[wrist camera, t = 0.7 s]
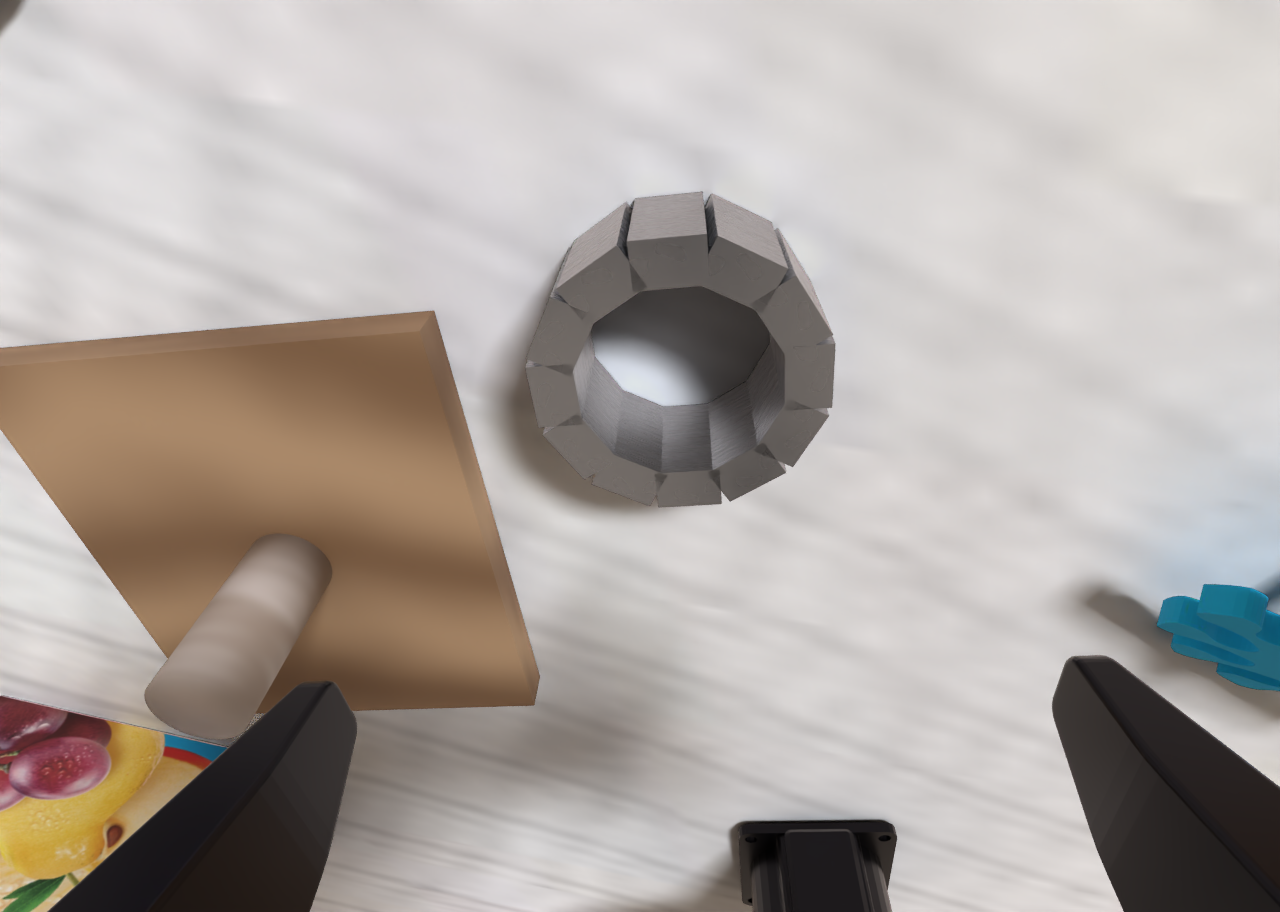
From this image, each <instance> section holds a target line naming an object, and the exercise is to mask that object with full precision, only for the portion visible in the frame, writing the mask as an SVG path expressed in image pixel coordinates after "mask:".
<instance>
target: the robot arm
mask: <svg viewBox="0 0 1280 912" xmlns="http://www.w3.org/2000/svg"><path fill="white" fill-rule="evenodd" d="M1052 712H1053V717H1054V721H1055V724H1056V727H1057V730H1058V733H1059V736H1060V739H1061V742H1062V746H1063V749H1064V752H1065V755H1066V758H1067V761H1068V764H1069V767H1070V770H1071V773H1072V776H1073V779H1074V782H1075V785H1076V788H1077V792H1078V795H1079V798H1080V801H1081V804H1082V807H1083V810H1084V813H1085V816H1086V819H1087V822H1088V825H1089V828H1090V831H1091V834H1092V837H1093V840H1094V842H1095V845H1096V848H1097V851H1098V853H1099V856H1100V858H1101V860H1102V863H1103V865H1104V868H1105V870H1106V872H1107V875H1108V877H1109V879H1110V881H1111V884H1112V886H1113V888H1114V890H1115V893H1116V895H1117V897H1118V899H1119V902H1120V904H1121V906H1122V908H1123V911H1124V912H1280V787H1279V786H1278V785H1276V784H1275V783H1274V782H1273V781H1271V780H1270V779H1269V778H1267V777H1266V776H1265V775H1263V774H1262V773H1261V772H1260V771H1258V770H1257V769H1256V768H1254V767H1253V766H1252V765H1250V764H1249V763H1248V762H1247V761H1245V760H1244V759H1243V758H1241V757H1240V756H1239V755H1237V754H1236V753H1235V752H1234V751H1232V750H1231V749H1230V748H1228V747H1227V746H1226V745H1224V744H1223V743H1222V742H1221V741H1219V740H1218V739H1217V738H1215V737H1214V736H1213V735H1211V734H1210V733H1209V732H1208V731H1206V730H1205V729H1204V728H1202V727H1201V726H1200V725H1198V724H1197V723H1196V722H1195V721H1193V720H1192V719H1191V718H1189V717H1188V716H1187V715H1185V714H1184V713H1183V712H1182V711H1180V710H1179V709H1178V708H1176V707H1175V706H1174V705H1172V704H1171V703H1170V702H1169V701H1167V700H1166V699H1165V698H1163V697H1162V696H1161V695H1159V694H1158V693H1157V692H1156V691H1154V690H1153V689H1152V688H1150V687H1149V686H1148V685H1146V684H1145V683H1144V682H1143V681H1141V680H1140V679H1139V678H1137V677H1136V676H1135V675H1133V674H1132V673H1131V672H1130V671H1128V670H1127V669H1126V668H1124V667H1123V666H1122V665H1120V664H1119V663H1118V662H1116V661H1115V660H1113V659H1111V658H1109V657H1107V656H1102V655H1091V656H1073V657H1071V658H1069V659H1068V660H1067V661H1066V663H1065V665H1064V668H1063V671H1062V673H1061V676H1060V679H1059V682H1058V685H1057V688H1056V691H1055V694H1054V697H1053V701H1052ZM356 734H357V724H356V719H355V716H354V714H353V712H352V711H351V709H350V707H349V705H348V703H347V701H346V699H345V698H344V696H343V694H342V692H341V690H340V688H339V687H338V685H337V684H336V683H334V682H333V681H329V680H326V681H306V682H303V683H300V684H299V685H297V686H296V687H294V688H293V689H292V690H291V691H290V692H289V693H288V694H287V695H286V696H284V697H283V698H282V699H281V700H280V701H279V702H278V703H277V704H276V705H275V706H273V707H272V708H271V709H270V710H269V711H268V712H267V713H266V714H265V715H263V716H262V717H261V718H260V719H259V720H258V721H257V722H256V723H255V724H254V725H252V726H251V727H250V728H249V729H248V730H247V731H246V732H245V733H244V734H242V735H241V736H240V737H239V738H238V739H237V740H236V741H235V742H234V743H233V744H231V745H230V746H229V747H228V748H227V749H226V750H225V751H224V752H223V753H222V754H220V755H219V756H218V757H217V758H216V759H215V760H214V761H213V762H212V763H210V764H209V765H208V766H207V767H206V768H205V769H204V770H203V771H202V772H201V773H199V774H198V775H197V776H196V777H195V778H194V779H193V780H192V781H191V782H190V783H188V784H187V785H186V786H185V787H184V788H183V789H182V790H181V791H180V792H178V793H177V794H176V795H175V796H174V797H173V798H172V799H171V800H170V801H169V802H167V803H166V804H165V805H164V806H163V807H162V808H161V809H160V810H159V811H157V812H156V813H155V814H154V815H153V816H152V817H151V818H150V819H149V820H148V821H146V822H145V823H144V824H143V825H142V826H141V827H140V828H139V829H138V830H137V831H135V832H134V833H133V834H132V835H131V836H130V837H129V838H128V839H127V840H125V841H124V842H123V843H122V844H121V845H120V846H119V847H118V848H117V849H116V850H114V851H113V852H112V853H111V854H110V855H109V856H108V857H107V858H106V859H105V860H103V861H102V862H101V863H100V864H99V865H98V866H97V867H96V868H95V869H93V870H92V871H91V872H90V873H89V874H88V875H87V876H86V877H85V878H84V879H82V880H81V881H80V882H79V883H78V884H77V885H76V886H75V887H74V888H73V889H71V890H70V891H69V892H68V893H67V894H66V895H65V896H64V897H63V898H61V899H60V900H59V901H58V902H57V903H56V904H55V905H54V906H53V907H52V908H50V909H49V910H48V911H47V912H310V909H311V906H312V903H313V900H314V897H315V894H316V892H317V889H318V886H319V883H320V880H321V877H322V874H323V870H324V867H325V864H326V861H327V858H328V854H329V850H330V847H331V843H332V839H333V835H334V831H335V826H336V822H337V818H338V813H339V809H340V805H341V800H342V796H343V792H344V788H345V783H346V779H347V775H348V770H349V766H350V762H351V757H352V753H353V749H354V744H355V740H356ZM738 832H739V850H740V867H741V885H742V901H743V903H745V904H747V905H752V906H753V912H892V909H891V905H890V900H889V896H888V892H887V890H888V885H889V879H890V874H891V868H892V863H893V858H894V852H895V847H896V842H897V835H896V831H895V827H894V826H893V825H892V824H890V823H885V822H870V823H787V824H745V825H743V826H741V827H740V828H739V830H738Z"/></svg>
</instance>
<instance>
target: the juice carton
mask: <svg viewBox="0 0 1280 912" xmlns="http://www.w3.org/2000/svg"><path fill="white" fill-rule="evenodd" d="M227 748H228V747H226V746H222V745H217V744H213V743H209V742H204V741H200V740H195V739H191V738H187V737H182V736H178V735H173V734H169V733H165V732H160V731H156V730H152V729H147V728H143V727H138V726H134V725H130V724H125V723H121V722H117V721H112V720H108V719H103V718H99V717H95V716H90V715H86V714H82V713H77V712H73V711H68V710H64V709H60V708H55V707H51V706H47V705H42V704H38V703H33V702H29V701H25V700H20V699H16V698H12V697H7V696H0V912H47V911H48V910H49V909H50V908H52V907H53V906H54V905H55V904H56V903H57V902H58V901H59V900H60V899H61V898H63V897H64V896H65V895H66V894H67V893H68V892H69V891H70V890H71V889H73V888H74V887H75V886H76V885H77V884H78V883H79V882H80V881H81V880H82V879H84V878H85V877H86V876H87V875H88V874H89V873H90V872H91V871H92V870H93V869H95V868H96V867H97V866H98V865H99V864H100V863H101V862H102V861H103V860H105V859H106V858H107V857H108V856H109V855H110V854H111V853H112V852H113V851H114V850H116V849H117V848H118V847H119V846H120V845H121V844H122V843H123V842H124V841H125V840H127V839H128V838H129V837H130V836H131V835H132V834H133V833H134V832H135V831H137V830H138V829H139V828H140V827H141V826H142V825H143V824H144V823H145V822H146V821H148V820H149V819H150V818H151V817H152V816H153V815H154V814H155V813H156V812H157V811H159V810H160V809H161V808H162V807H163V806H164V805H165V804H166V803H167V802H169V801H170V800H171V799H172V798H173V797H174V796H175V795H176V794H177V793H178V792H180V791H181V790H182V789H183V788H184V787H185V786H186V785H187V784H188V783H190V782H191V781H192V780H193V779H194V778H195V777H196V776H197V775H198V774H199V773H201V772H202V771H203V770H204V769H205V768H206V767H207V766H208V765H209V764H210V763H212V762H213V761H214V760H215V759H216V758H217V757H218V756H219V755H220V754H222V753H223V752H224V751H225V750H226V749H227Z"/></svg>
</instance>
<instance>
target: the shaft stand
mask: <svg viewBox="0 0 1280 912" xmlns="http://www.w3.org/2000/svg"><path fill="white" fill-rule="evenodd" d="M0 429H1V431H2V432H3V433H4V435H5V436H6V437H7V439H8V440H9V442H10V443H11V444H12V446H13V447H14V448H15V450H16V451H17V453H18V454H19V455H20V457H21V458H22V459H23V461H24V462H25V463H26V465H27V466H28V468H29V469H30V470H31V472H32V473H33V474H34V476H35V477H36V479H37V480H38V481H39V483H40V484H41V485H42V487H43V488H44V490H45V491H46V492H47V494H48V495H49V496H50V498H51V499H52V501H53V502H54V503H55V505H56V506H57V507H58V509H59V510H60V511H61V513H62V514H63V516H64V517H65V518H66V520H67V521H68V522H69V524H70V525H71V527H72V528H73V529H74V531H75V532H76V533H77V535H78V536H79V538H80V539H81V540H82V542H83V543H84V544H85V546H86V547H87V549H88V550H89V551H90V553H91V554H92V555H93V557H94V558H95V559H96V561H97V562H98V564H99V565H100V566H101V568H102V569H103V570H104V572H105V573H106V575H107V576H108V577H109V579H110V580H111V581H112V583H113V584H114V586H115V587H116V588H117V590H118V591H119V592H120V594H121V595H122V596H123V598H124V599H125V601H126V602H127V603H128V605H129V606H130V607H131V609H132V610H133V612H134V613H135V614H136V616H137V617H138V618H139V620H140V621H141V623H142V624H143V625H144V627H145V628H146V629H147V631H148V632H149V634H150V635H151V636H152V638H153V639H154V640H155V642H156V643H157V644H158V646H159V647H160V649H161V650H162V651H163V653H164V654H165V655H166V657H167V658H168V660H167V661H166V662H165V664H164V665H163V666H162V668H161V669H160V670H159V672H158V673H157V675H156V676H155V677H154V679H153V680H152V681H151V683H150V684H149V685H148V687H147V688H146V690H145V701H146V704H147V706H148V707H149V709H150V710H151V712H152V713H153V714H154V715H155V716H156V717H157V718H159V719H160V720H161V721H163V722H164V723H166V724H167V725H169V726H170V727H172V728H174V729H176V730H179V731H181V732H183V733H186V734H189V735H192V736H196V737H200V738H206V739H227V738H232V737H235V736H238V735H240V734H241V733H243V732H244V731H245V730H246V728H247V727H248V725H249V723H250V721H251V720H252V718H253V716H254V714H256V713H267V712H268V711H269V710H270V709H271V708H272V707H273V706H275V705H276V704H277V703H278V702H279V701H280V700H281V699H282V698H283V697H284V696H286V695H287V694H288V693H289V692H290V691H291V690H292V689H293V688H294V687H296V686H297V685H299V684H300V683H303V682H306V681H326V680H329V681H333V682H334V683H336V684H337V685H338V687H339V688H340V690H341V692H342V694H343V696H344V698H345V699H346V701H347V703H348V705H349V707H350V709H351V711H359V710H394V709H428V708H462V707H497V706H531V705H534V704H535V699H536V694H537V689H538V684H539V679H540V675H539V672H538V668H537V665H536V662H535V658H534V655H533V651H532V648H531V644H530V641H529V637H528V634H527V630H526V627H525V624H524V620H523V617H522V613H521V610H520V606H519V603H518V599H517V596H516V592H515V589H514V585H513V582H512V579H511V575H510V572H509V568H508V565H507V561H506V558H505V554H504V551H503V547H502V544H501V540H500V537H499V534H498V530H497V527H496V523H495V520H494V516H493V513H492V509H491V506H490V502H489V499H488V496H487V492H486V489H485V485H484V482H483V478H482V475H481V471H480V468H479V464H478V461H477V457H476V454H475V451H474V447H473V444H472V440H471V437H470V433H469V430H468V426H467V423H466V419H465V416H464V413H463V409H462V406H461V402H460V399H459V395H458V392H457V388H456V385H455V381H454V378H453V374H452V371H451V368H450V364H449V361H448V357H447V354H446V350H445V347H444V343H443V340H442V336H441V333H440V329H439V326H438V323H437V319H436V316H435V312H434V311H425V312H413V313H402V314H390V315H379V316H367V317H355V318H344V319H332V320H321V321H309V322H297V323H286V324H274V325H263V326H251V327H239V328H228V329H216V330H205V331H193V332H181V333H170V334H158V335H147V336H135V337H124V338H112V339H100V340H89V341H77V342H66V343H54V344H42V345H31V346H19V347H8V348H0Z"/></svg>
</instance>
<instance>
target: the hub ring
mask: <svg viewBox="0 0 1280 912" xmlns="http://www.w3.org/2000/svg"><path fill="white" fill-rule="evenodd" d="M696 286H702V287H705V288H707V289H709V290H711V291H713V292H716V293H718V294H720V295H722V296H725V297H727V298H729V299H731V300H734V301H736V302H738V303H740V304H742V305H745V306H747V307H749V308H751V309H754V310H755V311H756V312H757V314H758V315H759V317H760V318H761V320H762V321H763V323H764V324H765V326H766V327H767V329H768V330H769V332H770V344H769V345H768V347H767V349H766V350H765V352H764V353H763V355H762V357H761V358H760V360H759V362H758V363H757V365H756V367H755V368H754V370H753V372H752V373H751V375H750V377H749V378H748V380H747V381H746V382H744V383H743V384H741V385H739V386H738V387H736V388H734V389H732V390H731V391H729V392H727V393H726V394H724V395H722V396H720V397H719V398H717V399H715V400H714V401H712V402H710V403H708V404H696V405H681V406H667V407H663V406H661V405H658V404H656V403H653V402H651V401H648V400H646V399H643V398H641V397H639V396H636V395H634V394H631V393H629V392H626V391H624V390H622V389H621V387H620V386H619V385H618V384H617V383H616V381H615V380H614V379H613V378H612V377H611V375H610V374H609V373H608V372H607V371H606V369H605V368H604V367H603V366H602V365H601V363H600V362H599V361H598V360H597V359H596V357H595V354H594V347H593V341H592V335H591V329H592V326H593V324H594V323H595V322H597V321H598V320H600V319H601V318H603V317H604V316H605V315H607V314H608V313H610V312H611V311H613V310H614V309H616V308H617V307H619V306H620V305H622V304H623V303H625V302H626V301H627V300H629V299H630V298H632V297H633V296H635V295H636V294H638V293H639V292H641V291H650V290H662V289H673V288H685V287H696ZM832 335H833V333H832V331H831V329H830V326H829V324H828V321H827V319H826V317H825V314H824V312H823V310H822V307H821V305H820V302H819V300H818V298H817V295H816V293H815V291H814V288H813V286H812V283H811V281H810V279H809V278H808V276H807V274H806V273H805V271H804V269H803V268H802V266H801V265H800V263H799V261H798V260H797V258H796V256H795V255H794V253H793V252H792V250H791V248H790V247H789V245H788V243H787V242H786V240H785V238H784V237H783V235H782V234H781V232H780V230H779V229H778V228H777V229H776V230H774V228H773V225H772V222H770V221H768V220H766V219H764V218H762V217H760V216H758V215H756V214H754V213H752V212H750V211H747V210H745V209H743V208H741V207H739V206H737V205H735V204H733V203H731V202H729V201H727V200H724V199H722V198H720V197H718V196H716V195H714V194H711V196H710V198H709V200H708V202H707V204H706V206H705V208H704V201H703V192H695V193H685V194H675V195H665V196H655V197H645V198H635V201H634V206H633V211H632V209H631V208H630V206H629V205H628V204H627V202H625V203H624V204H623V205H621V206H620V207H619V208H617V209H616V210H615V211H613V212H612V213H611V214H609V215H608V216H607V217H605V218H604V219H603V220H601V221H600V222H599V223H597V224H596V225H595V226H593V227H592V228H591V229H589V230H588V231H587V232H585V233H584V234H583V235H581V236H580V237H579V238H577V239H576V240H574V243H573V245H572V248H569V249H568V252H567V254H566V257H565V259H564V262H563V264H562V267H561V270H560V272H559V275H558V277H557V280H556V282H555V285H554V287H553V290H552V292H551V295H550V298H549V300H548V303H547V305H546V308H545V310H544V313H543V316H542V318H541V321H540V323H539V326H538V328H537V331H536V334H535V336H534V339H533V341H532V344H531V346H530V349H529V352H528V354H527V357H526V359H527V360H528V361H527V364H526V366H525V369H526V374H527V378H528V383H529V387H530V392H531V396H532V401H533V405H534V410H535V414H536V419H537V423H538V428H541V427H545V428H544V432H543V436H544V437H545V438H546V439H547V440H548V441H549V442H550V444H551V445H552V446H553V447H554V448H555V449H556V450H557V451H558V452H559V453H560V454H561V455H562V456H563V457H564V458H565V460H566V461H567V462H568V463H569V464H570V465H571V466H572V467H573V468H574V469H575V470H576V471H577V472H578V473H579V474H580V476H581V477H582V478H583V479H584V480H585V479H586V478H588V477H590V476H591V475H593V478H592V485H595V486H597V487H600V488H603V489H605V490H608V491H611V492H613V493H616V494H619V495H621V496H624V497H627V498H629V499H632V500H635V501H637V502H640V503H643V504H645V505H648V506H650V505H651V503H652V502H653V500H654V498H655V497H656V495H657V500H658V507H676V506H694V505H712V504H722V501H721V491H722V492H723V494H724V495H725V496H726V497H727V498H728V500H729V501H732V500H734V499H736V498H738V497H740V496H742V495H744V494H746V493H748V492H750V491H752V490H754V489H756V488H757V487H759V486H761V485H763V484H765V483H767V482H769V481H771V480H773V479H775V478H777V477H779V476H781V475H783V474H785V473H786V469H785V464H787V465H789V466H792V467H793V466H794V465H795V463H796V462H797V460H798V459H799V458H800V456H801V455H802V453H803V452H804V451H805V449H806V448H807V446H808V445H809V443H810V442H811V441H812V439H813V438H814V436H815V435H816V434H817V432H818V431H819V429H820V428H821V426H822V425H823V424H824V422H825V421H826V419H827V418H828V417H829V414H828V411H827V408H832V399H833V380H834V361H835V341H834V339H833V337H832Z"/></svg>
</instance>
